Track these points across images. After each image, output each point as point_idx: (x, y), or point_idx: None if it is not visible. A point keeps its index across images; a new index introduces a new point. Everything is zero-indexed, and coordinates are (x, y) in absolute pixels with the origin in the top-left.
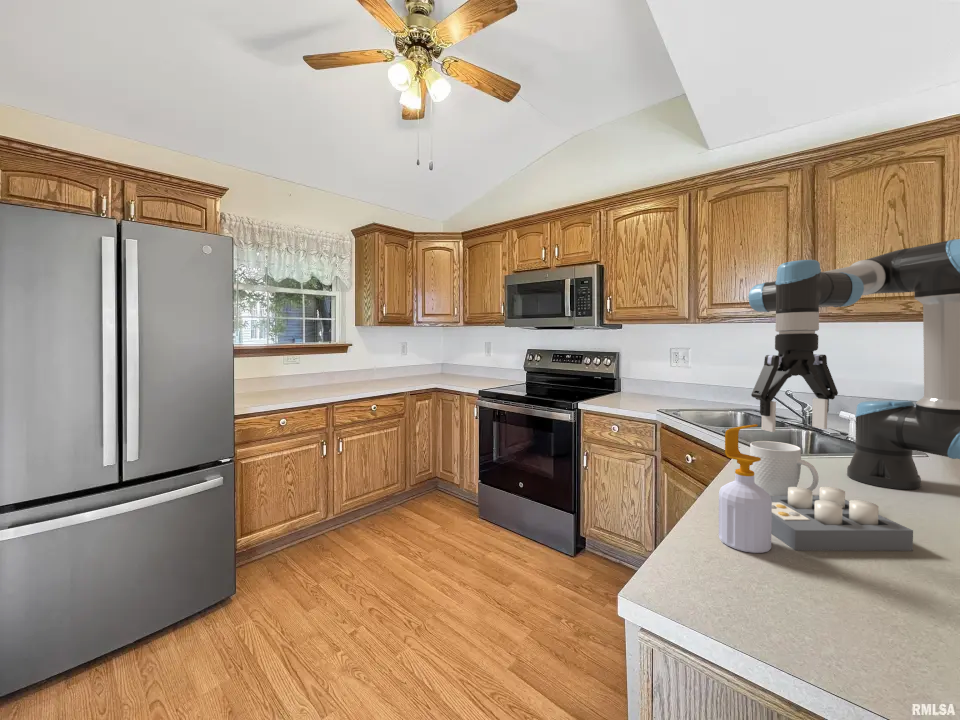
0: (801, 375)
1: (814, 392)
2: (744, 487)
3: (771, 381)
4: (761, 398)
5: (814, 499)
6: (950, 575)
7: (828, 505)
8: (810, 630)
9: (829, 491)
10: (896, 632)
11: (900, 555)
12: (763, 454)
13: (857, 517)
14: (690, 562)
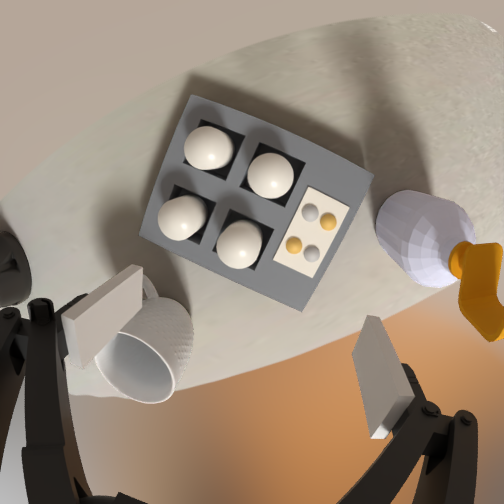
0: (90, 490)
1: (66, 380)
2: (468, 239)
3: (453, 485)
4: (464, 413)
5: (192, 242)
6: (242, 48)
7: (278, 171)
8: (494, 92)
9: (189, 217)
10: (434, 43)
11: (235, 98)
12: (177, 365)
13: (231, 147)
14: (494, 224)
